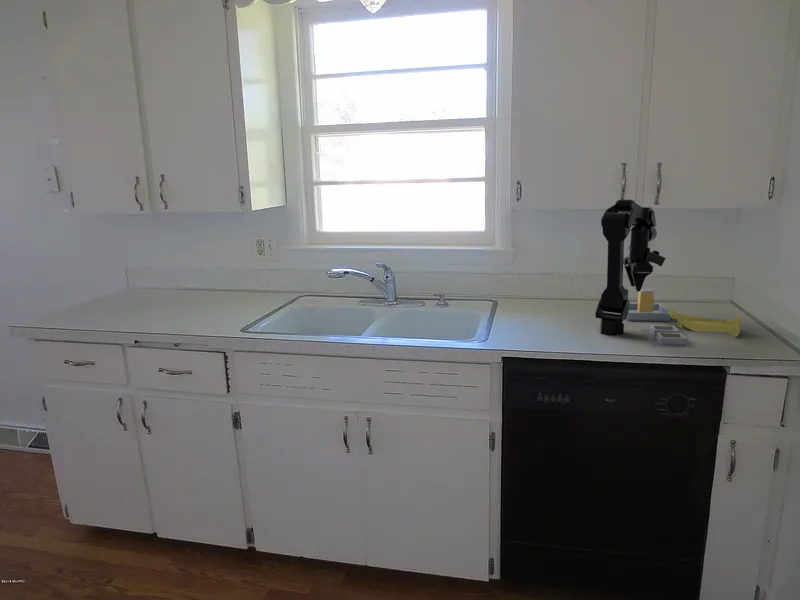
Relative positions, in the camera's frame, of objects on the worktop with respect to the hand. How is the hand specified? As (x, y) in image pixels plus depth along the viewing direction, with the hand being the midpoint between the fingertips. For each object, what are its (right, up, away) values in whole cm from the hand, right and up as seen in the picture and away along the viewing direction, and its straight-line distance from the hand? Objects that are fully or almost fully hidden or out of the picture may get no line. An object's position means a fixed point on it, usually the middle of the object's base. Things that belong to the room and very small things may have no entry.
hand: (635, 288), depth 196 cm
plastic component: (+17, -14, -12) cm, 25 cm away
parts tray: (+6, -10, +7) cm, 14 cm away
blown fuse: (+6, -9, +7) cm, 13 cm away
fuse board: (0, -17, -22) cm, 28 cm away
